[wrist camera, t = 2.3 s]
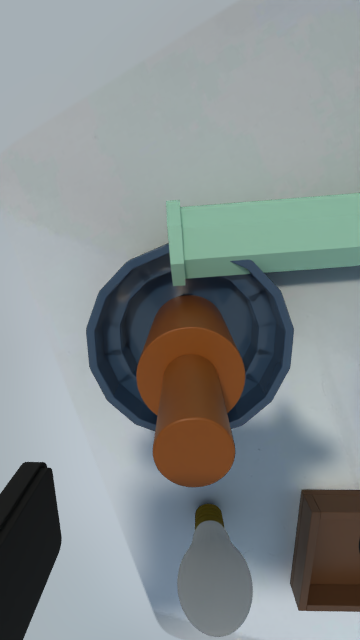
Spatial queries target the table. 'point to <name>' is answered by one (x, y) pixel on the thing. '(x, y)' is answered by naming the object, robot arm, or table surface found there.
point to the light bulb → (214, 577)
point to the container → (263, 236)
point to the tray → (327, 551)
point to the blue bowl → (156, 289)
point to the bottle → (191, 390)
